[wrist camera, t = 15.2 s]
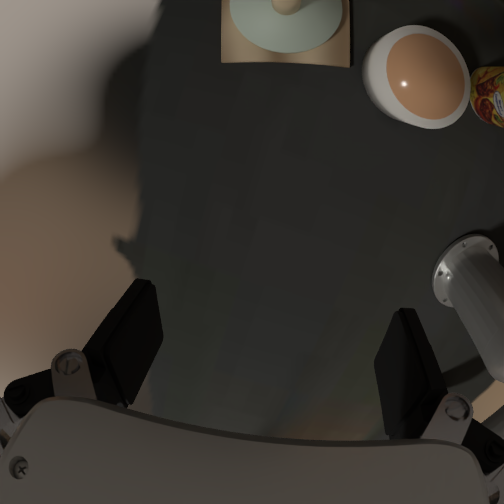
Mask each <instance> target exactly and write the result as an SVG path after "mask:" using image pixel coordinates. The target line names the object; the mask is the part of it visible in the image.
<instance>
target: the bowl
mask: <svg viewBox="0 0 504 504" xmlns="http://www.w3.org/2000/svg"><path fill="white" fill-rule="evenodd" d="M362 79H363V84H364V87H365V89H366V92H367V94H368V96H369V97H370V99H371V100H372V102H373V103H374V104H375V105H376V106H377V108H378V109H380V110H381V111H382V112H383V113H384V114H386V115H387V116H389V117H391V118H393V119H395V120H398V121H402V122H405V123H409V124H412V125H415V126H419V127H422V128H428V129H438V128H443V127H446V126H448V125H450V124H452V123H454V122H455V121H456V120H457V119H458V118H459V117H460V116H461V115H462V114H463V112H464V111H465V109H466V107H467V104H468V102H469V97H470V90H471V83H470V76H469V72H468V68H467V65H466V63H465V61H464V59H463V57H462V55H461V53H460V52H459V50H458V49H457V48H456V47H455V45H454V44H453V43H452V42H451V41H450V40H449V39H447V38H446V37H445V36H444V35H442V34H441V33H439V32H437V31H435V30H433V29H431V28H428V27H425V26H419V25H408V26H403V27H400V28H398V29H396V30H394V31H392V32H390V33H388V34H386V35H385V36H383V37H381V38H379V39H378V40H376V41H375V42H374V43H372V44H371V46H370V47H369V48H368V49H367V51H366V53H365V55H364V58H363V62H362Z"/></svg>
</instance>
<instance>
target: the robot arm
mask: <svg viewBox="0 0 504 504" xmlns="http://www.w3.org/2000/svg"><path fill="white" fill-rule="evenodd" d="M432 288H433V291H434V294H435V296H436V297H437V299H438V300H439V301H440V302H441V303H442V304H444V305H446V306H449V307H454V308H455V310H456V311H457V313H458V315H459V317H460V318H461V320H462V322H463V324H464V325H465V327H466V329H467V331H468V333H469V335H470V336H471V338H472V340H473V342H474V344H475V346H476V348H477V350H478V352H479V354H480V356H481V358H482V360H483V362H484V364H485V366H486V368H487V370H488V371H489V373H490V374H491V375H492V377H494V378H495V379H496V380H498V381H500V382H503V383H504V268H503V267H502V266H501V264H500V263H499V255H498V251H497V248H496V246H495V244H494V243H493V242H492V241H491V240H490V239H489V238H488V237H486V236H484V235H482V234H469V235H466V236H463V237H461V238H459V239H457V240H456V241H455V242H453V243H452V244H451V245H450V246H449V247H448V248H447V249H446V250H445V251H444V252H443V254H442V255H441V256H440V258H439V260H438V261H437V263H436V265H435V268H434V271H433V276H432ZM162 341H163V330H162V324H161V319H160V313H159V307H158V301H157V294H156V288H155V285H153V284H152V283H151V281H150V280H144V279H138V278H137V279H135V280H134V281H133V283H132V284H131V285H130V287H129V288H128V289H127V291H126V292H125V293H124V295H123V296H122V297H121V299H120V300H119V301H118V302H117V304H116V305H115V307H114V308H112V309H111V310H110V312H109V313H108V315H107V316H106V317H105V319H104V320H103V321H102V323H101V324H100V326H99V327H98V328H97V330H96V331H95V333H94V334H93V335H92V337H91V338H90V340H89V341H88V342H87V344H86V345H85V347H84V348H83V350H82V351H80V350H77V349H66V350H63V351H61V352H60V353H58V354H57V355H56V356H55V357H54V358H53V360H52V363H51V369H48V370H45V371H42V372H38V373H35V374H33V375H29V376H26V377H23V378H20V379H17V380H14V381H12V382H11V383H10V384H9V385H8V386H7V387H6V389H5V391H4V397H2V398H1V397H0V504H504V405H503V406H502V407H501V408H500V409H498V410H497V411H496V412H495V413H494V414H492V415H491V416H490V417H488V418H487V419H486V420H485V421H483V422H482V423H479V422H478V421H476V420H475V419H473V418H472V417H473V407H472V404H471V402H470V401H469V400H468V399H467V398H466V397H465V396H464V395H461V394H459V393H449V394H448V391H447V388H446V385H445V382H444V379H443V376H442V374H441V371H440V368H439V365H438V363H437V360H436V357H435V355H434V352H433V350H432V347H431V345H430V343H429V341H428V339H427V337H426V334H425V332H424V329H423V327H422V324H421V322H420V320H419V317H418V315H417V313H416V311H415V309H412V308H400V309H399V311H396V312H395V313H394V315H393V317H392V320H391V322H390V325H389V327H388V330H387V332H386V334H385V337H384V339H383V341H382V344H381V346H380V348H379V351H378V353H377V355H376V357H375V361H374V368H375V374H376V379H377V384H378V390H379V396H380V402H381V408H382V414H383V421H384V427H385V433H386V435H389V438H390V440H368V441H326V440H304V439H289V438H277V437H267V436H258V435H250V434H243V433H236V432H229V431H223V430H217V429H212V428H206V427H201V426H196V425H191V424H186V423H182V422H177V421H173V420H169V419H165V418H161V417H157V416H153V415H149V414H145V413H141V412H138V411H134V410H130V409H127V407H128V405H129V404H130V405H131V404H133V402H134V400H135V398H136V396H137V394H138V391H139V390H140V387H141V385H142V383H143V381H144V379H145V377H146V375H147V373H148V371H149V368H150V366H151V364H152V362H153V360H154V358H155V356H156V354H157V352H158V350H159V348H160V346H161V344H162Z"/></svg>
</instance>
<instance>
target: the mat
mask: <svg viewBox="0 0 504 504" xmlns="http://www.w3.org/2000/svg"><path fill="white" fill-rule="evenodd" d="M341 2H342V18H341V21H340V24H339V26H338V28H337V29H336V31H335V32H334V34H333V35H332V36H331V37H330V38H329V39H328V40H327V41H326V42H325V43H323V44H322V45H320V46H318V47H316V48H314V49H311V50H309V51H305V52H301V53H287V54H286V53H277V52H272V51H269V50H266V49H263V48H261V47H259V46H257V45H255V44H253V43H252V42H250V41H249V40H248V39H247V38H246V37H244V36H243V35H242V33H241V32H240V31H239V30H238V28H237V27H236V25H235V23H234V22H233V19H232V17H231V13H230V0H222V26H221V62H222V63H231V62H286V63H305V64H318V65H329V66H338V67H347V68H349V67H350V16H349V0H341Z"/></svg>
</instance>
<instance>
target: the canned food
mask: <svg viewBox="0 0 504 504" xmlns="http://www.w3.org/2000/svg"><path fill="white" fill-rule="evenodd" d="M470 83H471V90H470V97H469V99H470V103H471V105H472V107H473V109H474V111H475V112H476V114H477V115H478V116H479V117H480V118H481V119H482V120H483V121H485V122H487V123H489V124H493V125H497V126H500V127H503V128H504V67H480V68H478V69H476V70H475V71H474V72H473V73H472V75H471V77H470Z"/></svg>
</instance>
